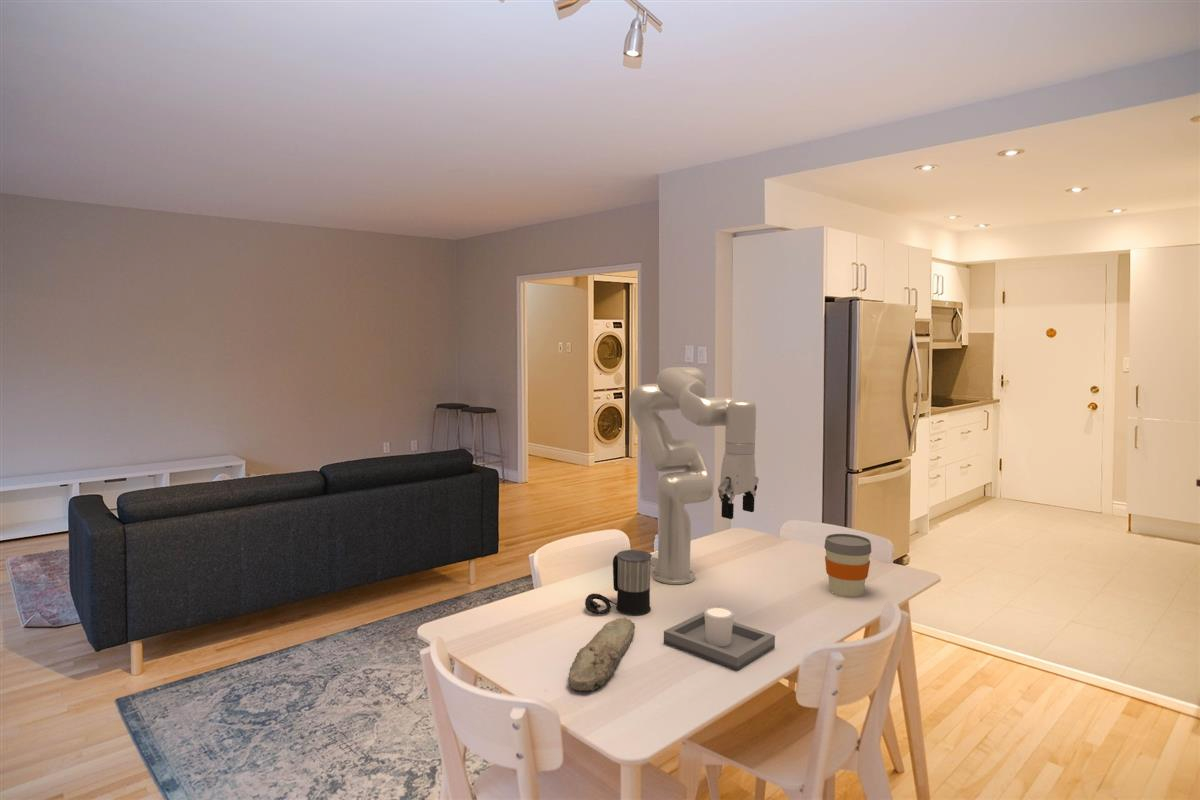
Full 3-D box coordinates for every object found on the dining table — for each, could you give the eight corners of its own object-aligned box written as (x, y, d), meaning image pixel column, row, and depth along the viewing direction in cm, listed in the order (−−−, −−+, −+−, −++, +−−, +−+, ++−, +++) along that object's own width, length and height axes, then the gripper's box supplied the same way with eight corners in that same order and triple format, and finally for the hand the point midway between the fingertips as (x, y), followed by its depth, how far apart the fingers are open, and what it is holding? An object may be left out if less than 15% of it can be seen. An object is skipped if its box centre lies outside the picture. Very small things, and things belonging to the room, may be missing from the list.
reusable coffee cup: (855, 603, 192) (857, 549, 191) (814, 590, 202) (815, 538, 200) (878, 592, 201) (880, 540, 199) (837, 580, 210) (839, 530, 209)
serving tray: (663, 643, 166) (663, 631, 166) (703, 623, 178) (703, 612, 178) (736, 671, 153) (737, 657, 152) (774, 647, 164) (775, 635, 164)
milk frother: (658, 609, 187) (659, 554, 186) (617, 626, 176) (618, 568, 175) (618, 595, 197) (619, 543, 196) (577, 611, 186) (578, 555, 184)
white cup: (733, 648, 162) (734, 618, 161) (703, 646, 163) (703, 616, 162) (733, 636, 168) (733, 607, 168) (703, 633, 169) (704, 605, 169)
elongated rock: (644, 635, 174) (605, 632, 177) (644, 614, 174) (605, 611, 177) (605, 697, 141) (557, 692, 144) (604, 670, 141) (557, 666, 144)
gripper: (745, 443, 190) (743, 506, 192) (708, 450, 178) (706, 518, 179) (770, 446, 185) (768, 511, 187) (733, 454, 172) (731, 523, 174)
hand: (738, 514), depth 183 cm, fingers open, 9 cm apart
